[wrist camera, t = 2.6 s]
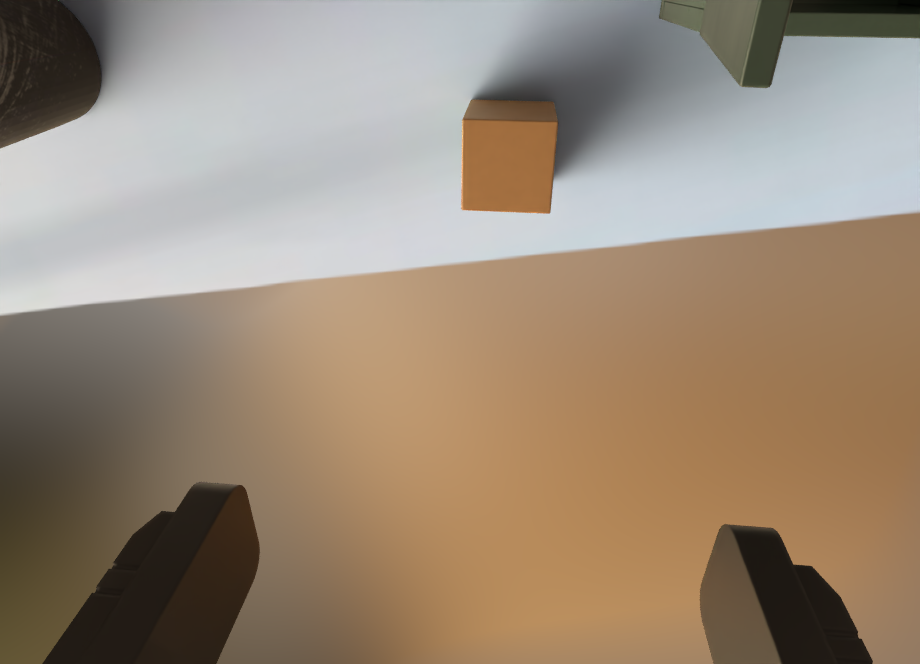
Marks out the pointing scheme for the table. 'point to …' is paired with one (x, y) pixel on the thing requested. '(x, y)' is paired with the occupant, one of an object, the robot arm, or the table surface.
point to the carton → (508, 156)
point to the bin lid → (746, 37)
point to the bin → (823, 17)
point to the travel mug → (43, 68)
